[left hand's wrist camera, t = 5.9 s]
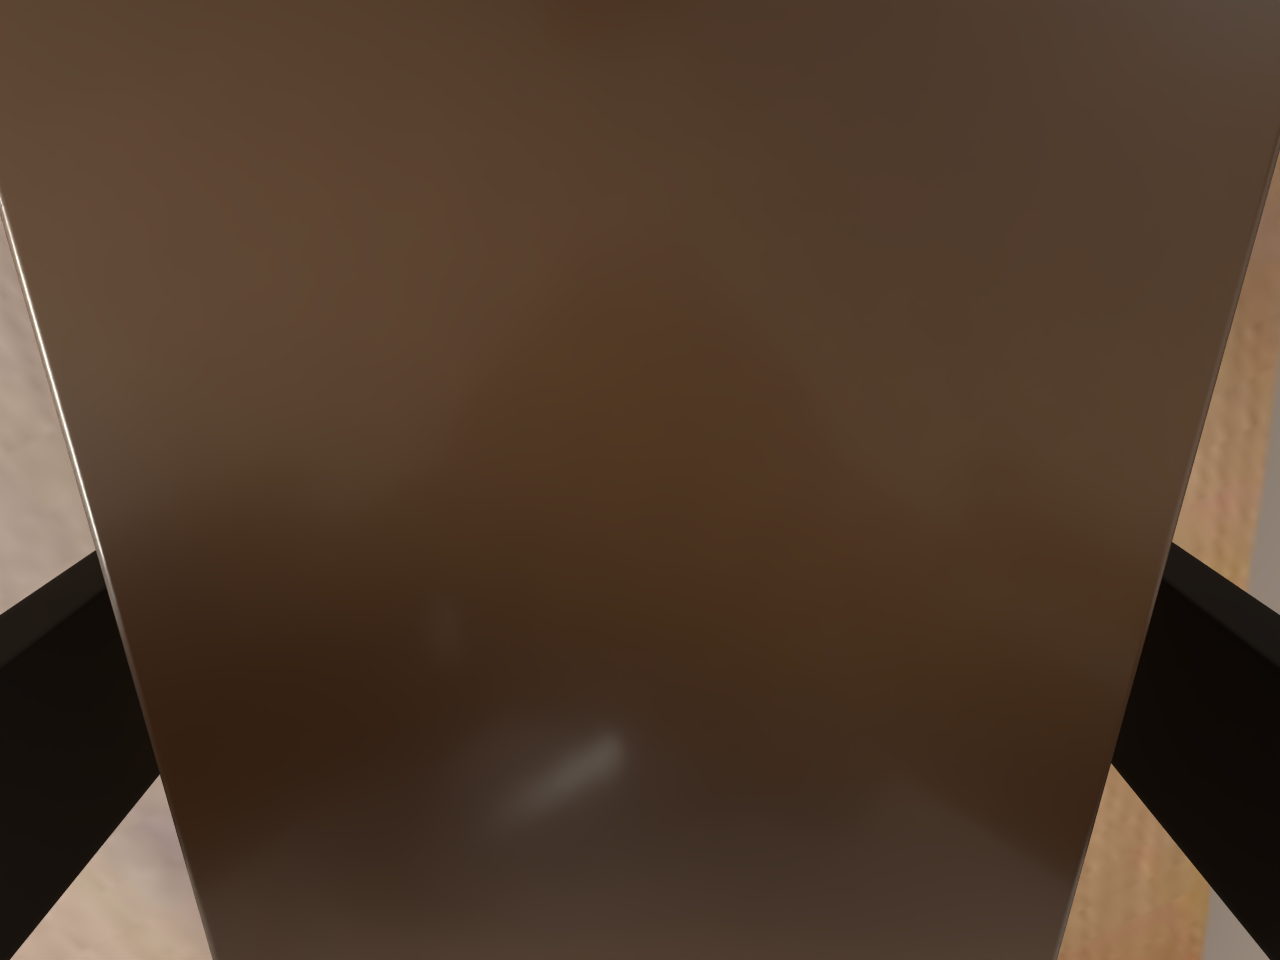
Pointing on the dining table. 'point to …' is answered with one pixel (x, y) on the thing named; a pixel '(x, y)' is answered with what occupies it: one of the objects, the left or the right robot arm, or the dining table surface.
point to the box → (634, 444)
